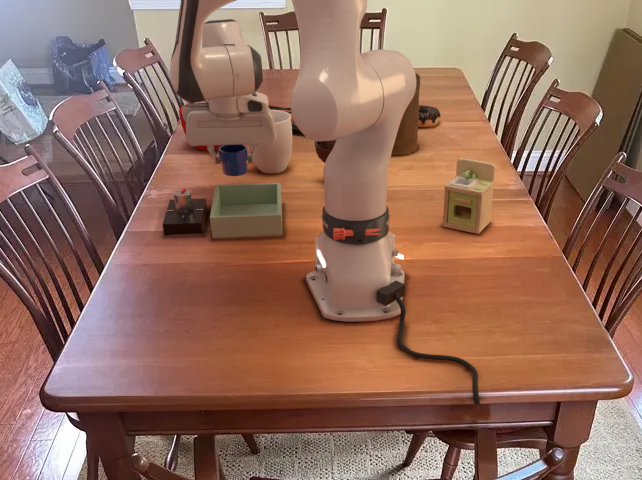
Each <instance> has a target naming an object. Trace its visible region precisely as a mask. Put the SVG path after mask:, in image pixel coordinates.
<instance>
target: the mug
mask: <svg viewBox="0 0 642 480" xmlns="http://www.w3.org/2000/svg"><path fill="white" fill-rule="evenodd" d="M271 111H272V113H273V117H274V121H275V127H276V137H277V139H276V141H275V142H274V143H273V144H258V149H257V151H256V153H255V155H254V163H248V160H247V165H255V166H256V168H257V169H258V170H259V172H261V173H263V174H264V173H265V174H280V173H282V172H284V171H285V170H286V169H287V167H288V165H289V163H290V161H291V157H292V152H293V132H292V124H291V115H290V114H289V113H287V112H285V111H286V110H271ZM248 146H249V147H248V148H249V151H250V153H251V152H252V150H253V149H252V147H251V144H248Z"/></svg>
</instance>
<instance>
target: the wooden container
mask: <svg viewBox="0 0 642 480" xmlns="http://www.w3.org/2000/svg"><path fill="white" fill-rule="evenodd" d="M415 75H416V91H415V94H414V97H413V99H412V100H411V102H410V103H409V105H408V107H407V108H406V110H405V112H404V114H403V117H402V119H401V122H400V125H399V128H398V132H397V135H396V139H395V142H394V146H393V149H392V153H391V157H397V156H403V155H409V154H412V153H413V152H415V151H416V150H417V149H418V134H419V127H418V117H419V105H420V89H421V88H420V87H421V75H420V74H419V73H416V72H415Z"/></svg>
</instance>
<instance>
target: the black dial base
mask: <svg viewBox="0 0 642 480" xmlns="http://www.w3.org/2000/svg"><path fill="white" fill-rule="evenodd" d="M192 204H193V211H192V212H191V213H187V214H180V213H177V211H176V206H175V200H174V198H171V199H169V200H168V204H167V207H166V211H165V215H164V218H163V221H162V230H163V235H164V236H177V235H179V236H180V235H203V234H204V229H205V223H206V220H207V219H206V218H207V213H208V203H207V198H206V197H204V198H201V197H200V198H192Z"/></svg>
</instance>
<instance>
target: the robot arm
mask: <svg viewBox="0 0 642 480" xmlns="http://www.w3.org/2000/svg"><path fill="white" fill-rule="evenodd" d="M236 1H237V0H180V4H179V12H178V20H177V27H176V34H175V42H174V47H173V51H172V54H171V58H170V65H169V79H170V83H171V86H172V89H173V92H174V94H176V95H177V96H178V97H179V98H181V100H183V101H185V102H187V103H185V104H184V105H182V106H183V107H182V106H181V107H182V116H183V119H184V121H185V122H186V135H185V137H186V142H187V143H188V145H190V146H191V147H195V146H206V145H207V149H208V150H207V152H208V153H209V154H210V156H211V157H212V158H213V164H214V165H222V162H221V161H220V157H219V153H218V154H217V153H216V151H215V149H214V145H220V146H223V145H249V144H251V147H252V149H253V150H252V152H251V151H250V152H248V156H247V158H248V163H254V155H255V153H256V151H257V149H258V144H273V143H274V142H275V141H276V139H277V137H276V127H275V121H274V117H273V113H272V111H271V109H272V108H269V107H268V106H269V105H270V104H269V103H270V101H269V97H268V95H267V94H265V93H262V92H258V90H259V89H260V87H261V86H262V84H263V81H264V77H263V62H262V56H261V54H260V53H259V52H258V51H257V50H256V49H255V48H253V47H252V45H251V46H250V44H246V42H245V40H244V39H243V35H242V30H241V25H240V22H239V21H237V20H235V19H232V18H228V19H227V18H226V19H213V20H212V19H211V20H207V19H208V18H209V17H210V16H212V14H213V13H214V12H216V11H217V10H219V9H221V8H223V7H225V6H227V5H229V4H231V3H234V2H236ZM291 3H292V7H293V10H294V14H295V17H296V18H295V19H296V22H297V26H298V32H299V34H298V35H299V46H300V47H299V48H300V49H299V50H300V53H299V55H300V57H299V60H300V61H299V70H298V74H297V78H296V81H295V83H294V85H293V88H292V90H291V93H290V98H289V100H290V101H289V106H290V107H289V108H291V111H290V112H291V113H292V116H293V119H294V122H295V124H296V125H297V127H298V129H299V130H300V131H301V132H302V133H301V132H300V133H301V134H302V135H303V136H304V137H306V138H308V139H309V140H311V141H314V142H315V141H332V140H336V143H335V145H334V147H333V149H332V151H331V153H330V154H329V156H328V158H327V160H326V162H325V163H324V167H323V191H324V193H323V195H324V196H323V197H324V205H323V207H322V214H321V221H322V222H321V223H322V231H321V232H320V233H319V234H318V235H317V237H315V239H314V249H315V250H314V261H315V263H314V266H315V267H314V270H313V271H311V272H309V273H307V274H306V275H305V282H306V285H307V286H308V288H309V290H310V293H311V295H312V297H313V299H314V301H315V304H316V305H317V307H318V309H319V311H320V314H321V315H322V317H323V318H324V319H328V320H331V321H336V322H346V323H347V322H352V323H353V322H354V323H355V322H357V323H358V322H374V321H375V322H376V321H381V320H387V319H391V318H395V317H397V316H399V323H398V326H399V327H398V333H397V339H396V342H397V346H398V347H399V348H400V349H401V350H402V351H403V352H404V353H406V354H407V355H409V356H411V357H414V358H417V359H423V360H430V361H431V360H435V361H445V362H453V363H455V364H456V363H457V364H459V365H461V366H463V367H465V368H466V369H468V371H470V372H471V375H472V382H471V383H472V396H473V403H474V404H475V405H476V406H480V405H481V402H480V401H481V400H480V395H479V373H478V370H477V369H476V368H475V367H474V366H473V365H472V364H471V363H470V362H468V361H467V360H465V359H463V358H460V357H457V356H453V355H444V354H431V353H430V354H429V353H423V352H417V351H415V350H412V349H410V348H409V347H407V346H406V345H405V344H404V343H403V335H404V330H405V318H406V306H405V303H404V302H403V299H404V297H405V296H406V295H405V294H406V284H405V280H406V279H405V278H406V273H405V271H404V270H403V269H402V264H400V263H395V258H397V259H400V260H404V258H405V257H404V255H403V254H401V253H399V248H395V245H396V244H395V242H396V241H395V240H396V235H395V234H394V233H393V232H392V231H390V210H389V206H388V186H389V185H388V183H389V169H390V162H391V157H392V156H391V153H392V149H393V146H394V142H395V139H396V135H397V132H398V128H399V125H400V122H401V119H402V117H403V114H404V112H405V110H406V108H407V107H408V105H409V103H410V102H411V100H412V99H413V97H414V94H415V91H416V75H415V73H416V70H415V69H414V66H413V64H412V62H411V61H410V59H409V58H408V57H407V56H406V55H404V54H403V53H402V52H400V51H397V50H392V49H371V50H370V49H369V50H368V51H364V52H361V50H360V49H361V48H360V47H361V46H360V30H361V23H362V20H363V18H364V16H365V14H366V12H367V8H368V0H291ZM186 106H188V107H186ZM208 106H209V107H208ZM213 149H214V150H213Z"/></svg>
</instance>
